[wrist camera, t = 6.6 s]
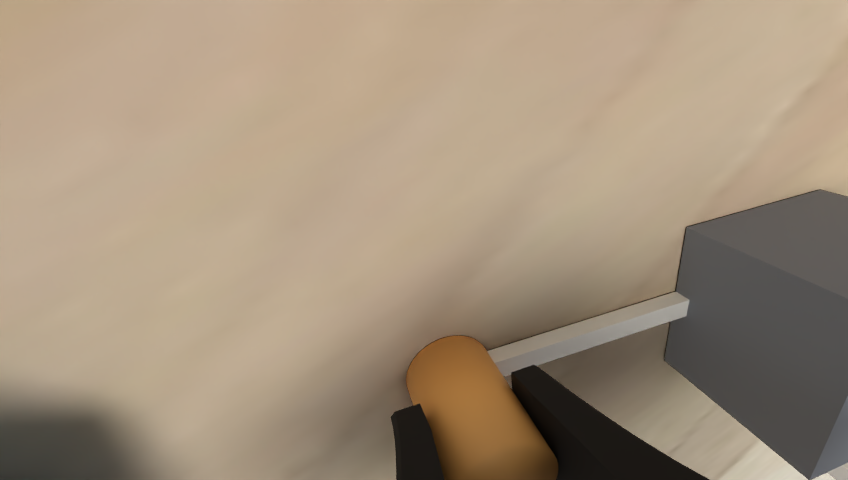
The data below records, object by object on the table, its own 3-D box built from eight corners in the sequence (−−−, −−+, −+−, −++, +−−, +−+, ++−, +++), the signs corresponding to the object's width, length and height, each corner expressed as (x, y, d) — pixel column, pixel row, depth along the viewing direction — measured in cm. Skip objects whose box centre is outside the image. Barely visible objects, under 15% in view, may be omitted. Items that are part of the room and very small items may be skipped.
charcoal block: (779, 319, 15) (953, 414, 11) (419, 446, 12) (479, 632, 8) (820, 189, 13) (1055, 251, 9) (391, 310, 10) (455, 475, 6)
